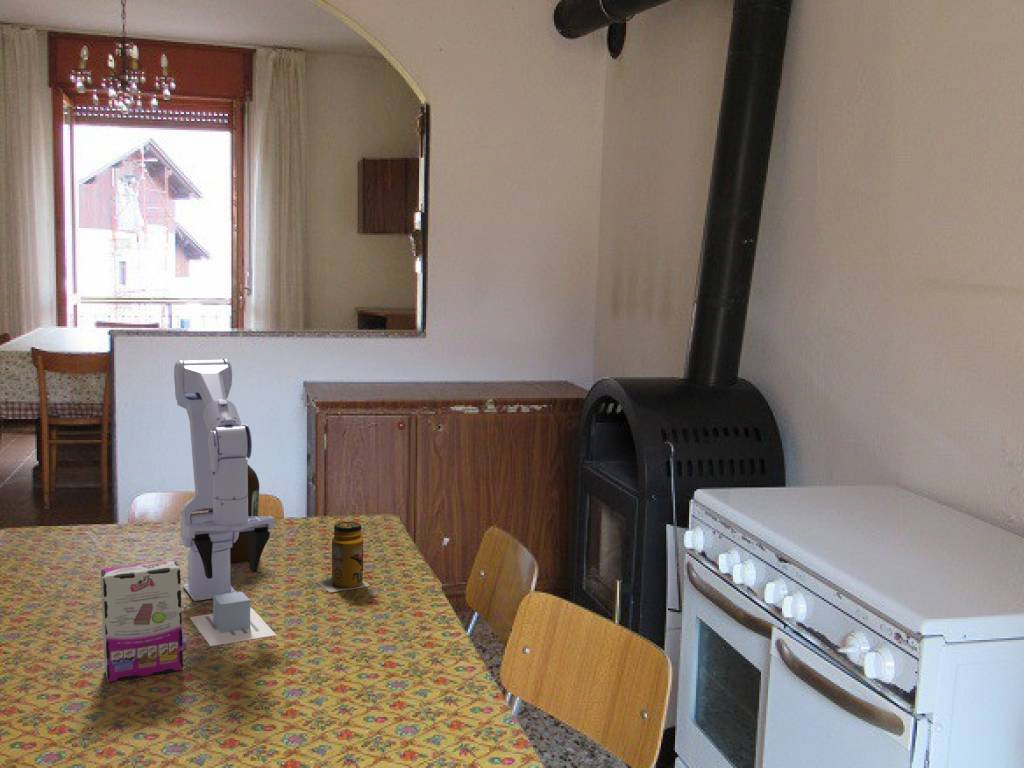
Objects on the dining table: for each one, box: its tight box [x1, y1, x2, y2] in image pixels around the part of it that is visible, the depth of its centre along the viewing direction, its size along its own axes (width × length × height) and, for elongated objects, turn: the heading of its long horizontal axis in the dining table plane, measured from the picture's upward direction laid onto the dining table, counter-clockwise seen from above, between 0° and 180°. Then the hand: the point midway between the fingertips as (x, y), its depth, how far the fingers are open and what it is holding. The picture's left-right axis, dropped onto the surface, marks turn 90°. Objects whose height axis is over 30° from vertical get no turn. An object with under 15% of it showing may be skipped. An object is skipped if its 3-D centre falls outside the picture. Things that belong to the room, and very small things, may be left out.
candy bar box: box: [100, 559, 184, 683], centre depth 158 cm, size 11×5×16 cm, turn 117°
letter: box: [189, 607, 277, 647], centre depth 179 cm, size 15×11×1 cm
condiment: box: [315, 521, 371, 594], centre depth 201 cm, size 7×8×12 cm
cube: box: [212, 591, 251, 633], centre depth 178 cm, size 5×5×5 cm
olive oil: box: [207, 464, 260, 564], centre depth 217 cm, size 11×11×25 cm
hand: (231, 573), depth 177 cm, fingers open, 7 cm apart
